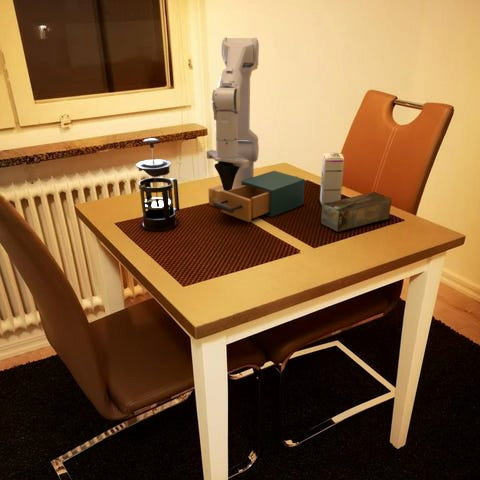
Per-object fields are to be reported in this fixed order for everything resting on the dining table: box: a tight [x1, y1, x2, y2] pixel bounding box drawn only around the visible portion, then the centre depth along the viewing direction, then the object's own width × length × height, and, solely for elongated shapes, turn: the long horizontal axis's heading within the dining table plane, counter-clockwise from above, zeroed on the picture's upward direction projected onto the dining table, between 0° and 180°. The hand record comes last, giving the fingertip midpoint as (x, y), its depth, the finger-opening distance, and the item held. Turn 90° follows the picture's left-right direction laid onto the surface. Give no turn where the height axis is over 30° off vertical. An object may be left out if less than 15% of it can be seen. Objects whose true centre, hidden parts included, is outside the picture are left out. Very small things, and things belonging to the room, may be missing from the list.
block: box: [208, 184, 226, 209], centre depth 149 cm, size 4×4×5 cm
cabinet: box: [241, 170, 306, 218], centre depth 148 cm, size 14×12×8 cm
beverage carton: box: [320, 191, 392, 233], centre depth 137 cm, size 8×19×7 cm, turn 119°
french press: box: [136, 138, 180, 232], centre depth 132 cm, size 12×9×23 cm
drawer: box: [213, 185, 270, 223], centre depth 141 cm, size 18×11×6 cm, turn 134°
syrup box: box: [319, 152, 345, 206], centre depth 148 cm, size 6×6×14 cm
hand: (227, 189), depth 135 cm, fingers closed
